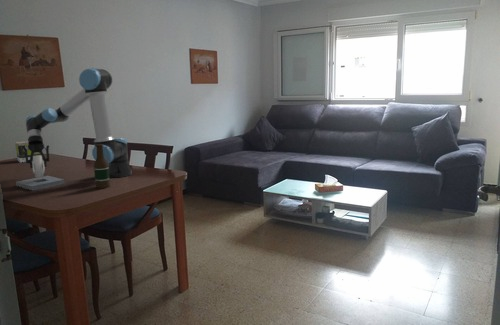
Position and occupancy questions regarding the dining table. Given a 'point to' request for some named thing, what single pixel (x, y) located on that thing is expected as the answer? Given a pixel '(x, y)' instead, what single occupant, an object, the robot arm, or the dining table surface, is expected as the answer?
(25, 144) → the tea box
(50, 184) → the socket plate
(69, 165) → the dining table surface
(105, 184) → the beer bottle
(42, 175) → the peg
